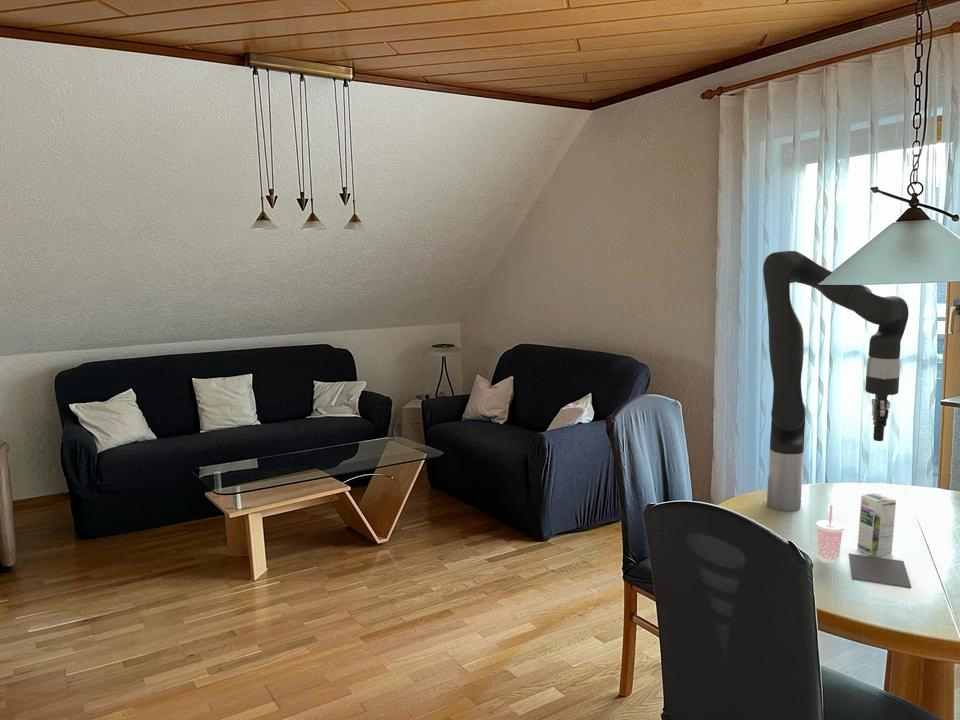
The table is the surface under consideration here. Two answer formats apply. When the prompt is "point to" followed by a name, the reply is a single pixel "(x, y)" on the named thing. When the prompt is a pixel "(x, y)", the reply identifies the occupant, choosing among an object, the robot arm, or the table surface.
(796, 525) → the table surface
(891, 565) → the mat
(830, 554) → the beverage cup
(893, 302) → the robot arm
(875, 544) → the syrup box
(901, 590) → the table surface
